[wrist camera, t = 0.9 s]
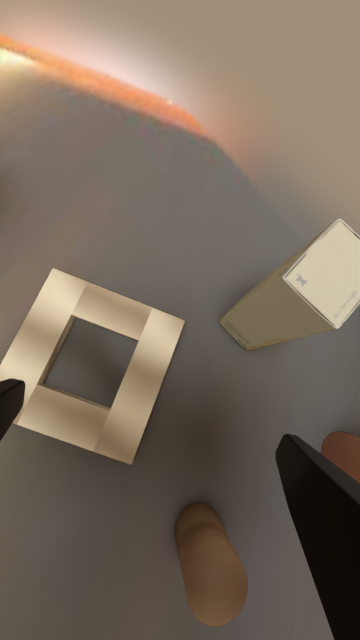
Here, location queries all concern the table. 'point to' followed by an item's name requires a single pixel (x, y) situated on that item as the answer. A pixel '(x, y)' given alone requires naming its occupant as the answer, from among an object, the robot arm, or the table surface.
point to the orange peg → (343, 452)
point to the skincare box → (301, 292)
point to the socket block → (90, 365)
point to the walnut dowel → (209, 566)
